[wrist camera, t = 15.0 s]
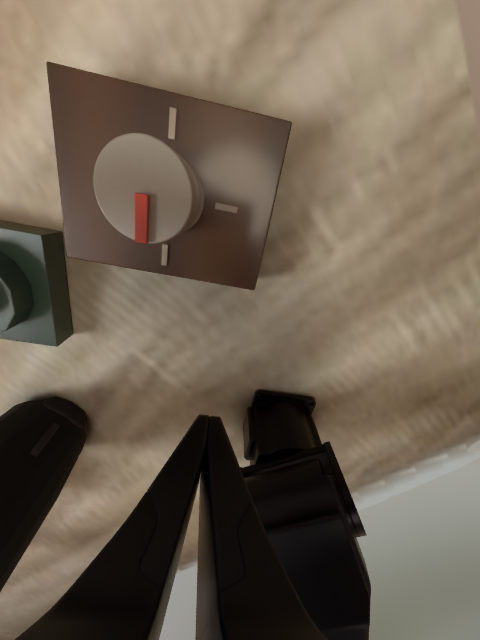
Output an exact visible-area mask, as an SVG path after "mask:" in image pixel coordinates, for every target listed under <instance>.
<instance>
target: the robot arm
mask: <svg viewBox="0 0 480 640" xmlns="http://www.w3.org/2000/svg"><path fill="white" fill-rule="evenodd" d="M258 395H261V396H258ZM310 402H311V403H310ZM315 405H316V402H315V399H314V398H312V397H305V396H298V395H291V394H284V393H276V392H269V391H262V390H258V391H256V392H255V394H254V398H253V402H252V405H251V407H249V408H248V409H247V412H246V416H245V420H244V423H243V436H244V457H245V459H246V460H250V466H247V467H244V468H242V467H240V466H239V464H238V461H237V459H236V456H235V454H234V451H233V448H232V446H231V443H230V441H229V438H228V435H227V433H226V430H225V428H224V425H223V423H222V420H221V418H220V417H218V416H210V417H209V416H208V415H202V414H200V415H198V417H197V418H196V420H195V421H194V422H193V424H192V425H191V427H190V428H189V430H188V431H187V433H186V434H185V436H184V437H183V439H182V440H181V442H180V443H179V445H178V446H177V447H176V449H175V450H174V452H173V453H172V455H171V456H170V458H169V459H168V461H167V462H166V464H165V465H164V467H163V468H162V470H161V471H160V473H159V474H158V475H157V477H156V478H155V480H154V481H153V483H152V484H151V486H150V487H149V489H148V491H147V492H146V493H145V494H144V496H143V497H142V499H141V500H140V502H139V503H138V505H137V506H136V507H135V509H134V510H133V512H132V513H131V514H130V516H129V517H128V518H127V520H126V521H125V522H124V524H123V525H122V526H121V527H120V529H119V530H118V531H117V532H116V534H115V535H114V536H113V537H112V539H111V540H110V541H109V542H108V543H107V545H106V546H105V547H104V548H103V549H102V550H101V552H100V553H99V554H98V555H97V556H96V558H95V559H94V560H93V561H92V562H91V564H90V565H89V566H88V567H87V568H86V570H85V571H84V572H83V573H82V574H81V576H80V577H79V578H78V579H77V580H76V582H75V583H74V584H73V585H72V586H71V587H70V588H69V590H68V591H67V592H66V593H65V594H64V595H63V596H62V597H61V599H60V600H59V601H58V602H57V603H56V604H55V605H54V606H53V607H52V608H51V609H50V610H49V611H48V612H47V613H46V614H45V615H44V616H42V617H41V618H40V619H39V620H38V621H37V622H35V623H34V624H33V625H32V626H31V627H29V628H28V629H27V630H26V631H25V632H23V633H22V634H21V635H20V636H19V637H17V638H16V639H15V640H159V637H160V633H161V629H162V625H163V621H164V617H165V613H166V609H167V605H168V602H169V598H170V594H171V590H172V586H173V582H174V578H175V574H176V570H177V566H178V562H179V558H180V554H181V551H182V547H183V543H184V539H185V535H186V531H187V527H188V523H189V519H190V515H191V511H192V507H193V503H194V499H195V496H196V492H197V488H198V484H199V479H200V505H199V539H198V574H197V575H198V576H197V608H196V640H369V625H370V624H369V623H370V597H371V585H370V580H369V576H368V572H367V568H366V564H365V561H364V557H363V555H362V552H361V549H360V547H359V544H358V541H357V539H356V537H360V536H365V535H366V533H365V530H364V527H363V525H362V522H361V520H360V517H359V515H358V512H357V509H356V507H355V504H354V502H353V499H352V497H351V494H350V492H349V489H348V487H347V484H346V482H345V479H344V477H343V474H342V472H341V469H340V467H339V464H338V462H337V459H336V457H335V454H334V452H333V449H332V447H331V444H330V442H326V443H324V444H323V445H322V443H321V440H320V437H319V434H318V432H317V429H316V426H315V423H314V420H313V418H312V415H311V414H312V412H313V410H314V407H315ZM200 474H201V477H200Z"/></svg>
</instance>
